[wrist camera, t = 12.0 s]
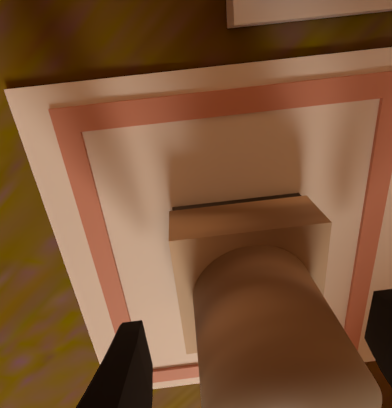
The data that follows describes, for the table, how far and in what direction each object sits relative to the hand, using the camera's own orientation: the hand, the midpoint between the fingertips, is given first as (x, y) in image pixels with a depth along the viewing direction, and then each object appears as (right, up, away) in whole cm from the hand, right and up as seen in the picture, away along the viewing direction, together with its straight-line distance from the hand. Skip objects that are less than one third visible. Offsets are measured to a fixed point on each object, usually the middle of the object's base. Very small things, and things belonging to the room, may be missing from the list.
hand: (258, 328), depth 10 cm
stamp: (0, +2, +3) cm, 4 cm away
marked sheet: (0, +2, +3) cm, 4 cm away
